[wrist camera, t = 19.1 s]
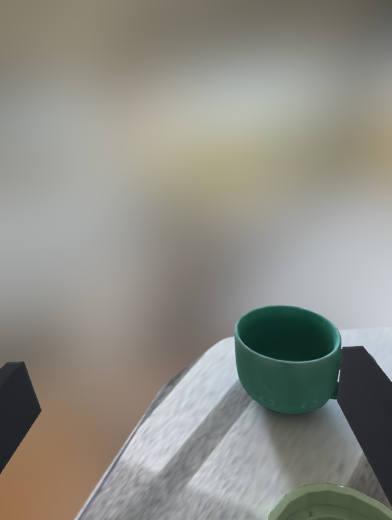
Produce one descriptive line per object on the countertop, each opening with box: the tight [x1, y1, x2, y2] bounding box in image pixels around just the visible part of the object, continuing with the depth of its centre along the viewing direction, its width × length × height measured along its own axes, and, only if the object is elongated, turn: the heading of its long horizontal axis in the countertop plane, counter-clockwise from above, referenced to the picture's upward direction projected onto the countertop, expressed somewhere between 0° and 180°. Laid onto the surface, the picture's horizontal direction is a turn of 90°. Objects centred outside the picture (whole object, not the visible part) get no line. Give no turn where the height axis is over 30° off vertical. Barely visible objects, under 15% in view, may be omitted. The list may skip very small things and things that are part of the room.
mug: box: [235, 305, 376, 414], centre depth 36 cm, size 17×13×10 cm
